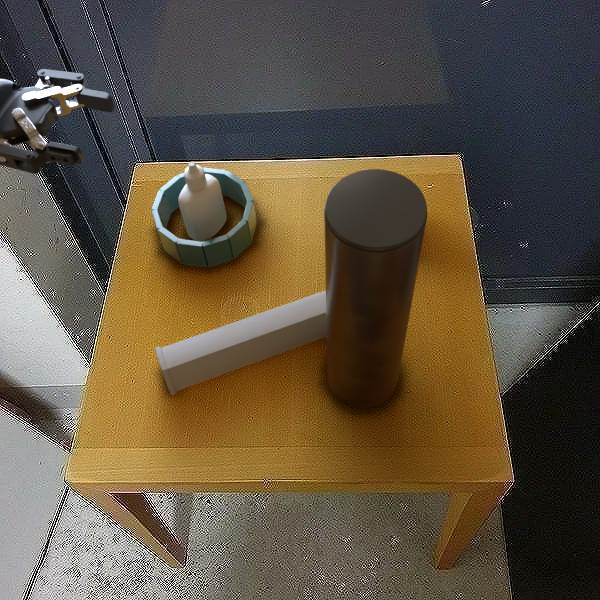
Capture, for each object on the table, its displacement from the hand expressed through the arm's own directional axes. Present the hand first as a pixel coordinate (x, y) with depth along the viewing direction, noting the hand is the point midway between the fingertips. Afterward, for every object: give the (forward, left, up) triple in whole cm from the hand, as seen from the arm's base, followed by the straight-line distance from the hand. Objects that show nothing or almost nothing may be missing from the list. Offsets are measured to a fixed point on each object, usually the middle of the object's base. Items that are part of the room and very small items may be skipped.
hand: (97, 129), depth 80 cm
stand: (+34, -19, -15) cm, 42 cm away
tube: (+23, -17, -15) cm, 32 cm away
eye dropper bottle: (+11, -1, -15) cm, 19 cm away
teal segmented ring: (+11, -1, -15) cm, 19 cm away
